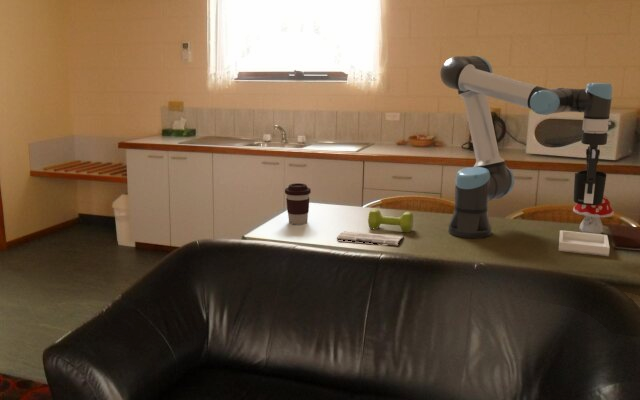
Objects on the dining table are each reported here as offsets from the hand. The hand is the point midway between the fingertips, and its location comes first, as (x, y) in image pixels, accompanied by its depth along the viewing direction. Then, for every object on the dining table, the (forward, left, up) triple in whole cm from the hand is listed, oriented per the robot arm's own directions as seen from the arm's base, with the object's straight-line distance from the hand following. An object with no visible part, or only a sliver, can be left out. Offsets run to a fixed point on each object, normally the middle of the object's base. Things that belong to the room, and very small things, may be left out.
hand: (587, 199), depth 194 cm
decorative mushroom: (+3, +19, -17) cm, 25 cm away
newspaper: (-69, -19, -17) cm, 73 cm away
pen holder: (0, 0, -1) cm, 1 cm away
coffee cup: (-102, -8, -17) cm, 104 cm away
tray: (0, 0, -16) cm, 16 cm away
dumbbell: (-66, -4, -17) cm, 68 cm away
